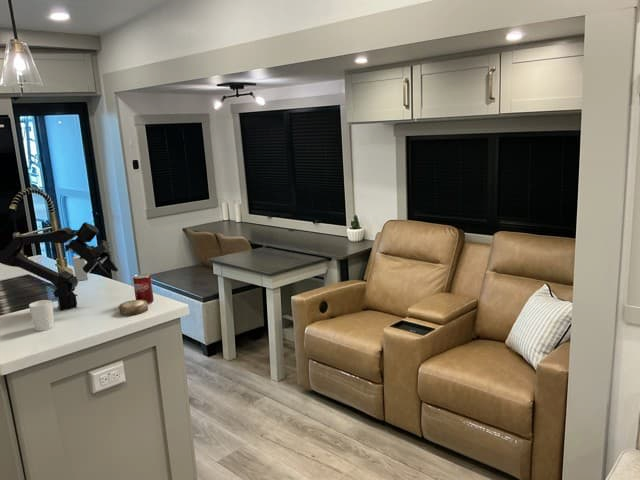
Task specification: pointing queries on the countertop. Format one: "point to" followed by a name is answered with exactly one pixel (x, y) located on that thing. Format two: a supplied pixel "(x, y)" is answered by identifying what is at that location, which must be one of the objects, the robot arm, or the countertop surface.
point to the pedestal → (133, 307)
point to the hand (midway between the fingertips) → (113, 273)
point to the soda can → (143, 288)
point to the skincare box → (80, 268)
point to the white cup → (42, 315)
